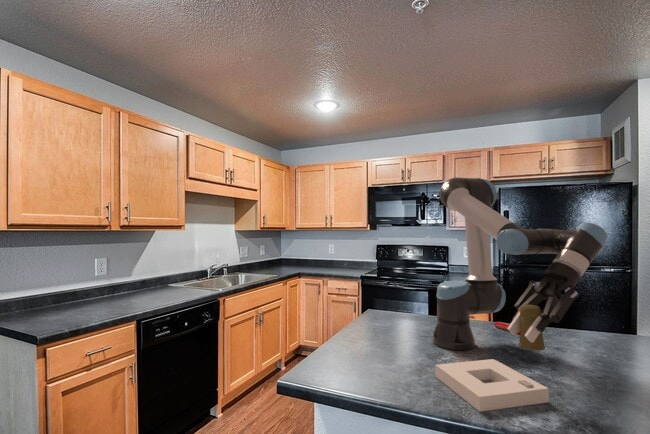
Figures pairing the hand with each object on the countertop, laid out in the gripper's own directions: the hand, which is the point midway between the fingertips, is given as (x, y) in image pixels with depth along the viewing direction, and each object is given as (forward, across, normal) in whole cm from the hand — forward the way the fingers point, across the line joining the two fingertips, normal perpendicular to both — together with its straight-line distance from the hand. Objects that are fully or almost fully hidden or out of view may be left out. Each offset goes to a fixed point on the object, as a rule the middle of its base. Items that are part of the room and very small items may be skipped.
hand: (519, 335), depth 92 cm
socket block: (+15, +5, -7) cm, 18 cm away
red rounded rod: (-16, +47, -42) cm, 65 cm away
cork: (0, 0, -5) cm, 5 cm away
